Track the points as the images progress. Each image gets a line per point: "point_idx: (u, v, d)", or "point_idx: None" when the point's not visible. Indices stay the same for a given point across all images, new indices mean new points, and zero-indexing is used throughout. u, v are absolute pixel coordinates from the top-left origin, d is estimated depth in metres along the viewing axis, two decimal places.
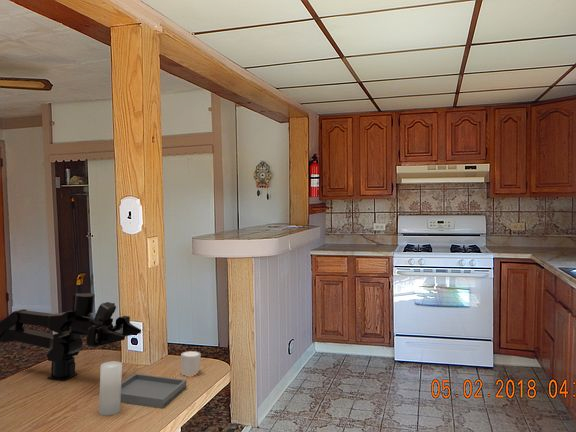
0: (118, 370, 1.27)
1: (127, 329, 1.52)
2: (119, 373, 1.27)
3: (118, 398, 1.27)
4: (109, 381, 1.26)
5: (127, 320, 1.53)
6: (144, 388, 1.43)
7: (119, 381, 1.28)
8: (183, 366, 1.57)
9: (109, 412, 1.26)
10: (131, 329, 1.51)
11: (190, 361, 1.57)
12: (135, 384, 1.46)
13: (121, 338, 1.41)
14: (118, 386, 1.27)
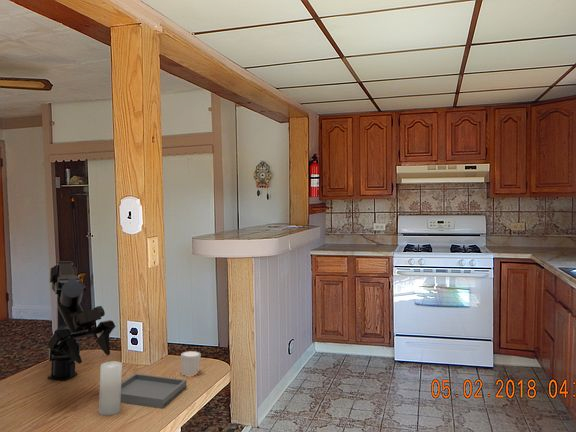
0: (118, 370, 1.27)
1: (102, 340, 1.38)
2: (119, 373, 1.27)
3: (118, 398, 1.27)
4: (109, 381, 1.26)
5: (108, 331, 1.39)
6: (144, 388, 1.43)
7: (119, 381, 1.28)
8: (183, 366, 1.57)
9: (109, 412, 1.26)
10: (104, 344, 1.38)
11: (190, 361, 1.57)
12: (135, 384, 1.46)
13: (77, 361, 1.28)
14: (118, 386, 1.27)
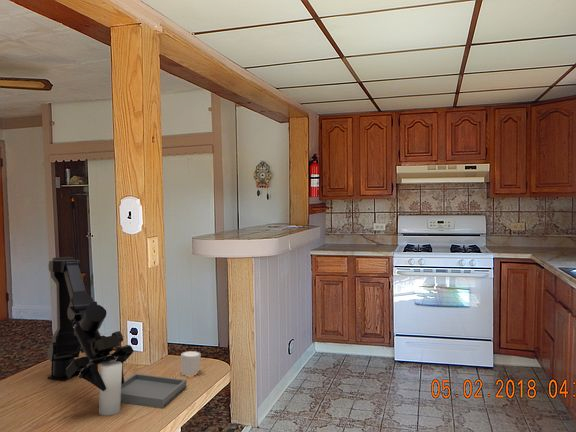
0: (118, 370, 1.27)
1: None
2: (119, 373, 1.27)
3: (118, 398, 1.27)
4: (109, 381, 1.26)
5: (121, 359, 1.33)
6: (144, 388, 1.43)
7: (119, 381, 1.28)
8: (183, 366, 1.57)
9: (109, 412, 1.26)
10: None
11: (190, 361, 1.57)
12: (135, 384, 1.46)
13: (101, 388, 1.25)
14: (118, 386, 1.27)
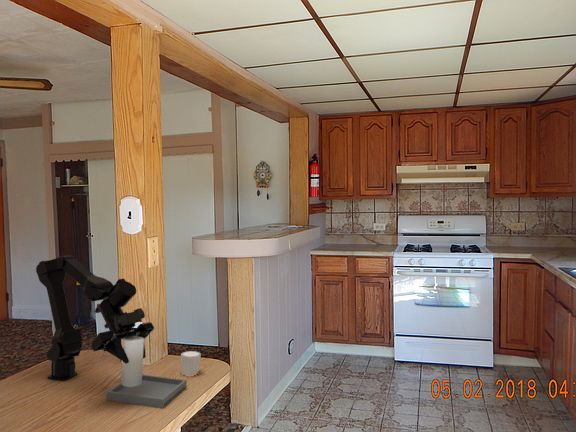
0: (140, 344, 1.34)
1: None
2: (141, 347, 1.34)
3: (140, 371, 1.34)
4: (131, 354, 1.32)
5: (143, 334, 1.40)
6: (144, 388, 1.43)
7: (141, 355, 1.34)
8: (183, 366, 1.57)
9: (132, 384, 1.33)
10: None
11: (190, 361, 1.57)
12: None
13: (124, 361, 1.32)
14: (140, 359, 1.34)
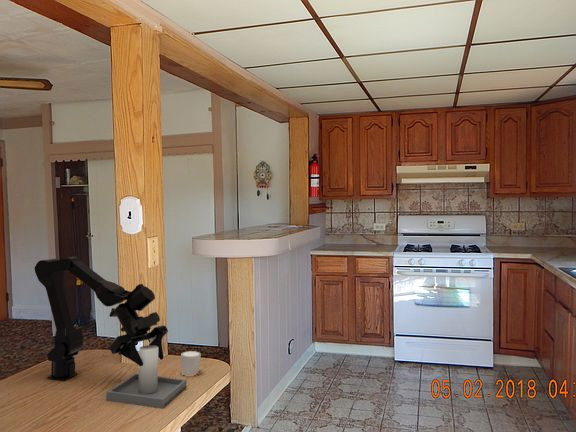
0: (156, 352, 1.40)
1: (155, 345, 1.46)
2: (156, 355, 1.40)
3: (156, 378, 1.40)
4: (147, 362, 1.39)
5: (160, 336, 1.46)
6: None
7: (156, 362, 1.41)
8: (183, 366, 1.57)
9: (148, 390, 1.39)
10: None
11: (190, 361, 1.57)
12: (135, 384, 1.46)
13: (139, 363, 1.37)
14: (155, 367, 1.40)
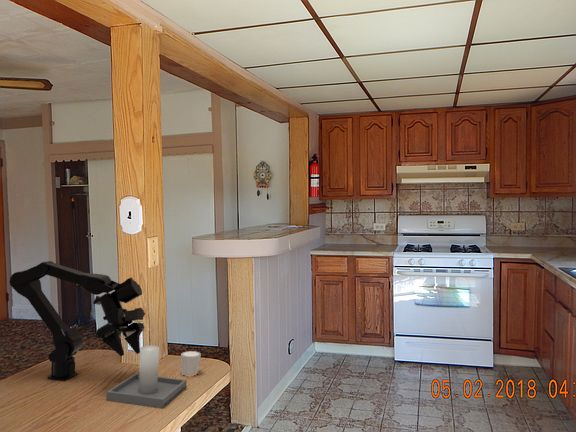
0: (156, 353, 1.40)
1: (132, 339, 1.52)
2: (157, 355, 1.40)
3: (156, 378, 1.40)
4: (148, 362, 1.39)
5: (139, 332, 1.54)
6: None
7: (157, 363, 1.41)
8: (183, 366, 1.57)
9: (148, 391, 1.39)
10: (134, 343, 1.52)
11: (190, 361, 1.57)
12: (135, 384, 1.46)
13: (120, 353, 1.42)
14: (156, 367, 1.40)
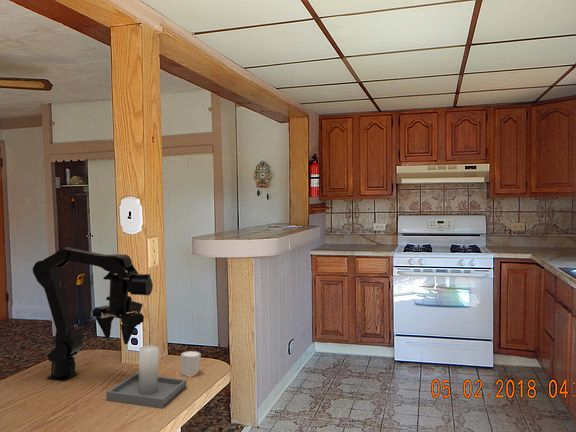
0: (156, 353, 1.40)
1: (107, 323, 1.52)
2: (156, 356, 1.40)
3: (156, 378, 1.40)
4: (148, 363, 1.38)
5: None
6: None
7: (156, 363, 1.40)
8: (183, 366, 1.57)
9: (148, 391, 1.39)
10: (108, 328, 1.53)
11: (190, 361, 1.57)
12: (135, 384, 1.46)
13: (126, 341, 1.47)
14: (156, 367, 1.40)
